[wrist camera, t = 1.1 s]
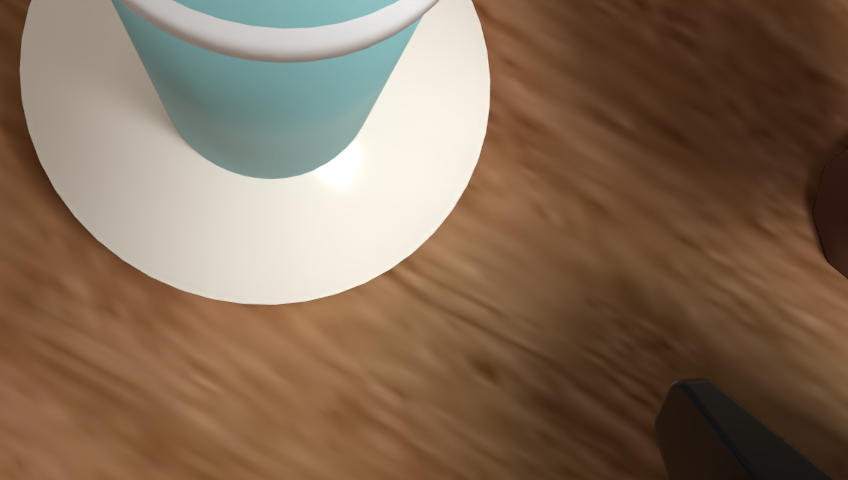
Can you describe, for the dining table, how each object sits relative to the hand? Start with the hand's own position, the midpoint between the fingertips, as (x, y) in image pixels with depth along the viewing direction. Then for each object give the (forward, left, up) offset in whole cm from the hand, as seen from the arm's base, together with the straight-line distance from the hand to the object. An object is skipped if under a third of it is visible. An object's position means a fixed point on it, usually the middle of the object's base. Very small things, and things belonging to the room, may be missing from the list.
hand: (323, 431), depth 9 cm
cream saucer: (+8, -1, -13) cm, 16 cm away
